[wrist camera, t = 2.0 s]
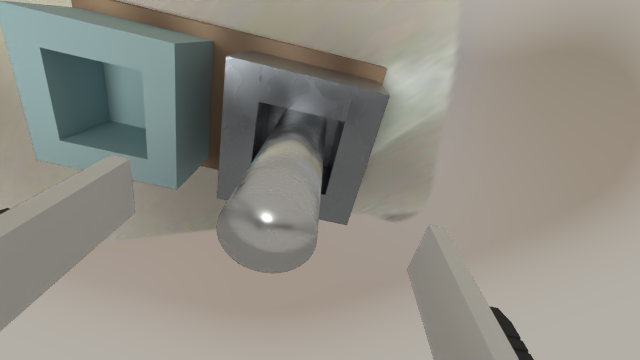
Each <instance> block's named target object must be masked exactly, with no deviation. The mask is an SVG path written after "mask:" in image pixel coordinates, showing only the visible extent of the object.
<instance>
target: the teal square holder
mask: <svg viewBox="0 0 640 360" xmlns="http://www.w3.org/2000/svg"><path fill="white" fill-rule="evenodd" d="M0 24H1V28H2V32H3V36H4V39H5V43H6V47H7V51H8V54H9V58H10V62H11V66H12V69H13V73H14V77H15V81H16V85H17V88H18V92H19V96H20V100H21V103H22V107H23V111H24V115H25V118H26V122H27V126H28V130H29V133H30V137H31V141H32V145H33V149H34V152H35V156H36V160H38V161H43V162H47V163H52V164H57V165H62V166H67V167H71V168H76V169H81V170H84V169H86V168H88V167H90V166H92V165H94V164H95V163H97V162H99V161H101V160H103V159H105V158H107V157H108V156H110V155H114V156H119V157H124V158H128V159H130V164H131V174H132V180H133V181H138V182H143V183H148V184H153V185H157V186H162V187H167V188H172V189H178V188H179V187H180V186H181V185H182V184H183V183H184V182H185V181H186V180H187V179H188V178H189V177H190V176H191V175H192V174H193V173H194V172H195V171H196V170H197V169H198V168H199V167H200V166H201V165H202V164H203V163H204V162H205V161H206V160H207V159H208V154H209V130H210V107H211V83H212V60H213V41H212V40H208V39H204V38H200V37H196V36H192V35H188V34H184V33H179V32H175V31H171V30H167V29H163V28H159V27H155V26H151V25H147V24H142V23H138V22H134V21H130V20H126V19H122V18H118V17H114V16H110V15H105V14H101V13H97V12H93V11H89V10H85V9H81V8H73V7H62V6H52V5H41V4H30V3H20V2H9V1H0Z"/></svg>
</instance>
